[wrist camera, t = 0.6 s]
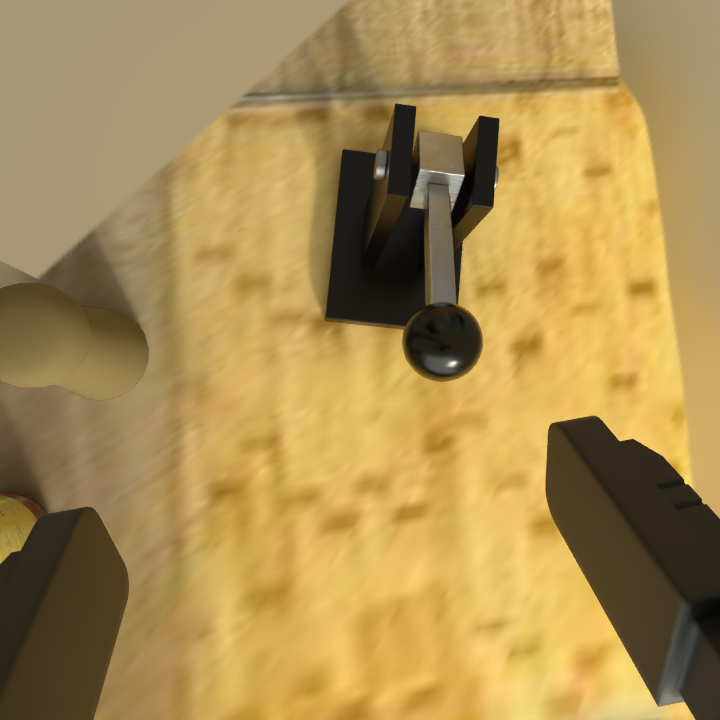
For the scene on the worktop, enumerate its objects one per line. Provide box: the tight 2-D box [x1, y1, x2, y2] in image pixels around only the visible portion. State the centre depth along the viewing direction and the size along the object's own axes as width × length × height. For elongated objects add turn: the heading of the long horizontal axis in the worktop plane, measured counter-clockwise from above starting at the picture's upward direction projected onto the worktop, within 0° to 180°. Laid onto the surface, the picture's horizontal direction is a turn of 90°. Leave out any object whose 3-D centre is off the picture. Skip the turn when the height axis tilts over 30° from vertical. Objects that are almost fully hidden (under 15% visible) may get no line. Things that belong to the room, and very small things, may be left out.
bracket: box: [325, 104, 499, 329], centre depth 32 cm, size 12×9×14 cm
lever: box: [402, 131, 483, 382], centre depth 25 cm, size 13×3×3 cm, turn 174°
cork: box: [0, 283, 148, 400], centre depth 31 cm, size 6×6×11 cm
